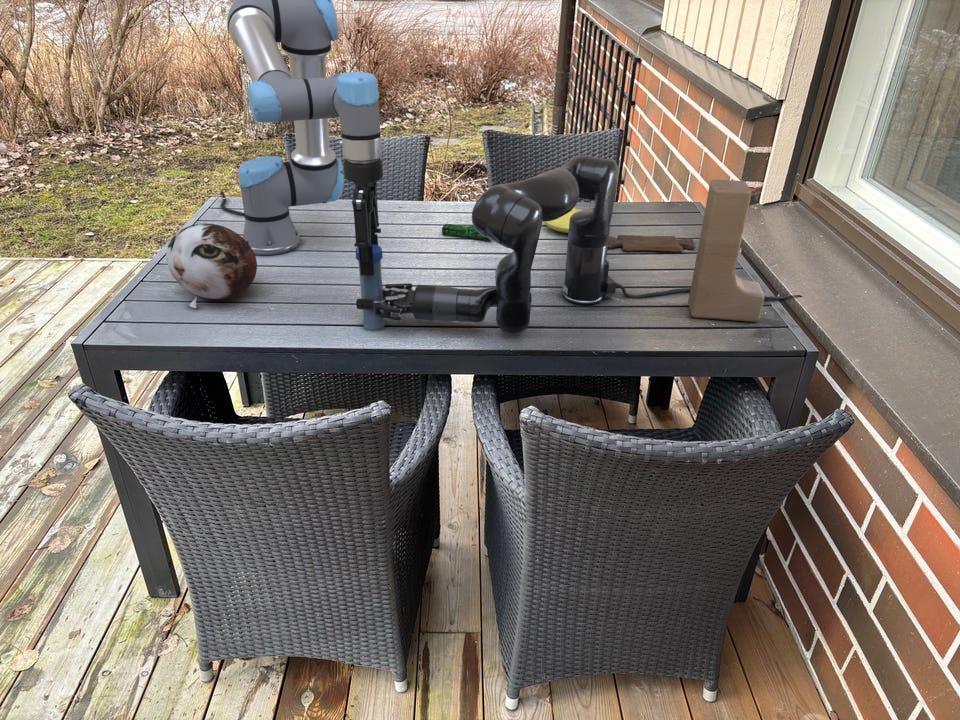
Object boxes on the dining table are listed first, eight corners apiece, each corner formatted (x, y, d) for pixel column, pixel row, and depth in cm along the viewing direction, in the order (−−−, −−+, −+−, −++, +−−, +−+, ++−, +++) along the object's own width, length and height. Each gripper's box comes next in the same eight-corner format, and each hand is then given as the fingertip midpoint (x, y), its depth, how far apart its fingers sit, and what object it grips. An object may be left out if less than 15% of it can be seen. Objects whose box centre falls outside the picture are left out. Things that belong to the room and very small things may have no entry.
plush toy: (130, 285, 161) (164, 203, 163) (192, 308, 177) (221, 233, 178) (195, 307, 151) (229, 220, 152) (254, 330, 166) (285, 250, 168)
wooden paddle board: (698, 254, 196) (690, 241, 205) (699, 248, 195) (691, 235, 204) (604, 251, 196) (600, 238, 205) (605, 245, 195) (601, 232, 204)
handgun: (511, 219, 210) (493, 234, 198) (511, 228, 211) (492, 244, 199) (461, 212, 215) (440, 226, 203) (461, 221, 217) (440, 236, 204)
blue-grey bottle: (360, 322, 159) (355, 248, 150) (381, 318, 160) (376, 245, 151) (366, 331, 155) (361, 256, 146) (387, 327, 157) (383, 253, 148)
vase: (559, 216, 220) (561, 193, 217) (605, 227, 212) (608, 204, 209) (532, 230, 209) (533, 207, 206) (580, 242, 201) (582, 218, 198)
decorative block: (759, 323, 161) (790, 192, 145) (691, 318, 162) (715, 188, 147) (752, 308, 167) (782, 182, 152) (687, 303, 169) (710, 178, 153)
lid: (351, 256, 150) (351, 247, 149) (375, 251, 153) (375, 242, 152) (362, 265, 146) (362, 256, 145) (387, 259, 149) (386, 250, 148)
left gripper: (352, 146, 147) (360, 251, 159) (332, 171, 131) (343, 286, 143) (389, 147, 147) (394, 252, 159) (373, 172, 131) (380, 287, 143)
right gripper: (442, 273, 157) (367, 269, 159) (431, 302, 145) (349, 296, 147) (443, 304, 161) (369, 299, 163) (432, 334, 149) (352, 329, 151)
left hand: (370, 268), depth 151 cm, fingers closed on lid, 5 cm apart
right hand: (360, 298), depth 155 cm, fingers closed on blue-grey bottle, 4 cm apart
